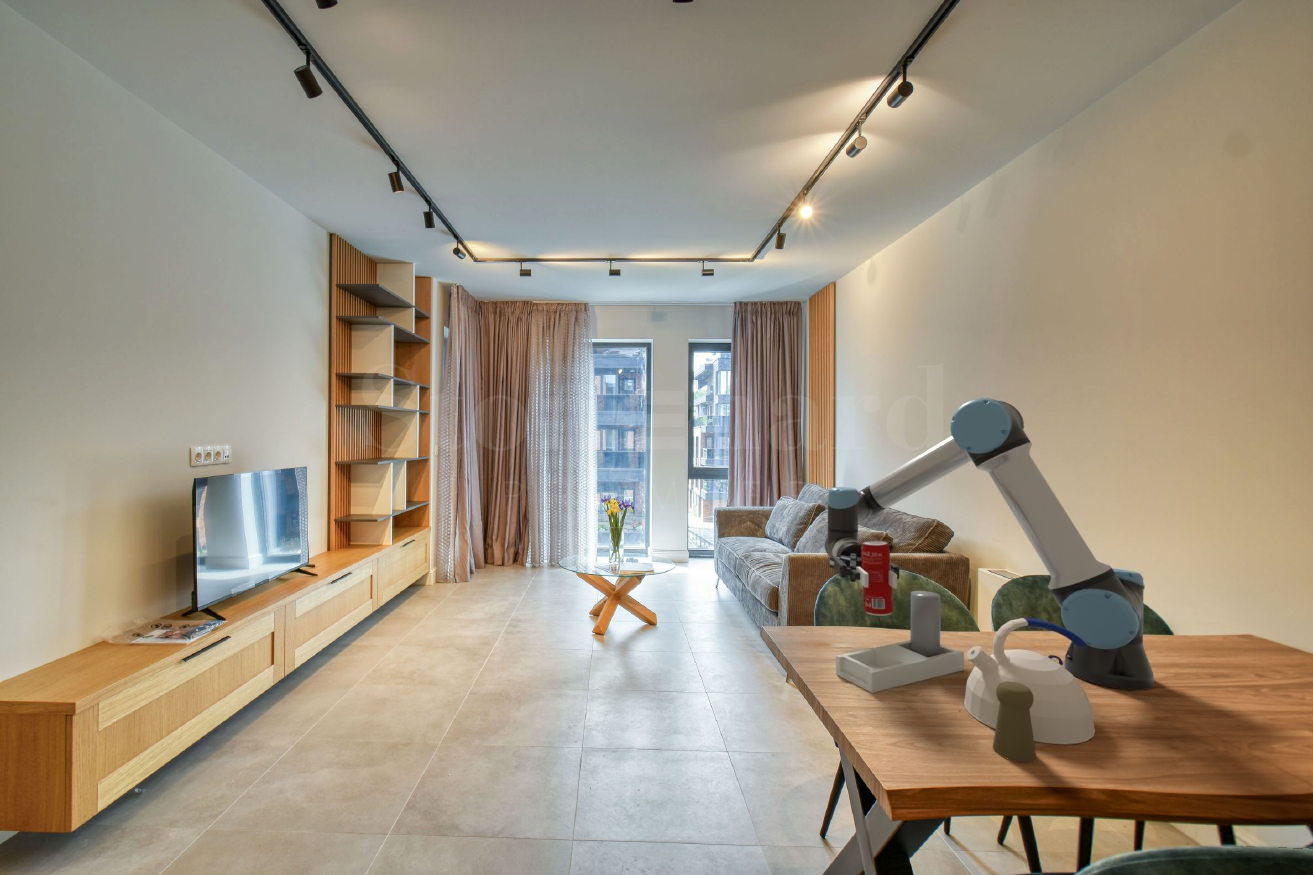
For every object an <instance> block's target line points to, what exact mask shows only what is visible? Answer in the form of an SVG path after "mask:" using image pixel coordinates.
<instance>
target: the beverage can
mask: <svg viewBox="0 0 1313 875" xmlns="http://www.w3.org/2000/svg"><path fill="white" fill-rule="evenodd" d="M861 544H862V547H861V559H862V569H863V570H864V571H865V572H867V573H868V587H864V586H863V585H862V591H863V592H862V593H863V594H862V595H863V596H862V597H863V611H864V612H865V613H866V614H868V615H871V616H875V617H876V616H878V617H882V616H883V617H885V616H890V615H892V614H893V612H894V605H893V602H894V600H893V588H892V587H891V586H890V585H889V584H888V571H890V570H891V562H892V561H891V549H890V546H889V544H888V541H883V540H865V541H863V542H862V543H861ZM890 561H891V562H890Z"/></svg>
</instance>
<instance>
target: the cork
mask: <svg viewBox="0 0 1313 875" xmlns="http://www.w3.org/2000/svg"><path fill="white" fill-rule="evenodd" d="M996 695H997V698H998V700H999V702H1000V705H999V711H998V717H997V723H996V729H994V731H995V732H994V738H993V743H992V750H993V751H994V752H995V753H996V754H997V753H998V754H997V755H999V756H1000V755H1001V756H1000V757H1002V756H1003V757H1002V758H1004V757H1006V758H1005V759H1007V758H1008V759H1007V760H1009V759H1010V761H1014V762H1019V763H1026V764H1027V763H1033V762H1035V761H1036V759H1037V754H1036V747H1035V741H1034V738H1033V731H1032V724H1031V717H1030V709H1029V708H1030V707H1032V704H1033V701H1034V697H1033V694H1032V692H1031V690H1030V689H1029V688H1028V687H1027V686H1025V685H1023V684H1020V683H1017V682H1011V681H1005V682H1001V683H999V685H998V686H997V689H996Z"/></svg>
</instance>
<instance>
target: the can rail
mask: <svg viewBox="0 0 1313 875" xmlns="http://www.w3.org/2000/svg"><path fill="white" fill-rule="evenodd" d="M941 599H942V598H941V594H939V593H936V592H934V591H926V590H914V591H911V592H910V640H906V641H905V640H904V641H900V642H896V643H891V644H887V645H886V644H885V645H881V646H875V647H872V648H866V649H862V650H857V651H852V652H851V651H850V652H848V653H842V654H837V655H835V658H836V659H835V663H836V664H835V674H836V675H837V676H839V677H841V678H842V679H845V680H847V681H848V682H850V683H852V684H854V685H856V686H858V687H860V688H862V689H863V690H865V691H867V692H868V693H871V694H873V693H876V692H881V691H885V690H889V689H893V688H897V687H901V686H904V685H909V684H913V683H917V682H922V681H925V680H929V679H933V678H937V677H942V676H946V675H949V674H953V673H957V672H961V671H964V669H965V667H964V666H965V665H964V663H965V661H964V660H965V659H964V658H965V654H964V653H965V652H964V651H963V650H956V649H952V648H950V647H947V646H945V645H942V644H941V603H942V602H941Z"/></svg>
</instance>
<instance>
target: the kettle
mask: <svg viewBox="0 0 1313 875" xmlns="http://www.w3.org/2000/svg"><path fill="white" fill-rule="evenodd" d="M1021 627H1035V628H1042V629H1045V630H1049V631H1052V632H1054V633H1057V634H1059V635H1061V636H1063V637H1064V638H1066V639H1068V640H1070V642H1071V641H1072V642H1073V643H1074V644H1075V645H1077V646H1086V643H1085V642H1084V641H1083V640H1082V639H1081V638H1080V637H1079V636H1077V635H1076V634H1074V633H1073V632H1071V631H1069V630H1067V629H1066V627H1063V626H1061V625H1057V624H1055V623H1053V622H1049V621H1045V620H1041V619H1038V618H1029V617H1027V618H1026V617H1022V618H1017V619H1011V620H1009V621H1008V622H1005V623H1004V624H1002V625H1001V626H1000V628H999V629H998V630H997V631H996V632H995V634H994V637H993V640H992V654H988V653H987V652H986V651H985V650H984V649H983V648H982V646H978V645H973V646H972V647H971V648H969V650H968V651H967V653H966V658H967V660H968V662H971V663H972V664H973V665H974V667H973V669H972V671H971V672H970V674H969V676H968V678H967V680H966V686H965V694H964V700H963V702H964V704H963V705H964V707H965V709H966V711H967V712H968V713H969V715H971V716H972V717H973V718H975V719H976V720H977V721H979V722H980V723H982V724H984V725H986V726H987V727H990V728H991V729H993V730H995V729H996V723H997V717H998V711H999V705H1000V702H999V700H998V698H997V695H996V689H997V686H998V685H999V683H1001V682H1005V681H1011V682H1017V683H1020V684H1023V685H1025V686H1027V687H1028V688H1029V689H1030V690H1031V692H1032V694H1033V697H1034V701H1033V704H1032V707H1030V708H1029V709H1030V717H1031V724H1032V731H1033V738H1034V742H1036V743H1041V744H1042V743H1043V744H1049V745H1061V746H1062V745H1077V744H1081V743H1085V742H1087V741H1089V740H1090V739H1092V738H1093V737H1094V736H1095V732H1096V729H1095V723H1094V722H1095V721H1094V714H1093V713H1094V712H1093V706H1092V703H1091V702H1090V699H1089V697H1088V695H1087V692H1086V691H1085V689H1084V687H1083V685H1081V683H1080V682H1079V681H1078V679H1077V678H1076V676H1074V675H1072V674H1071V673H1070V672H1069V671H1067V670H1066V669H1065V666H1063V665H1064V661H1063V660H1062V658H1060V656H1058V655H1054V654H1050V655H1048V656H1045V655H1043V654H1040V653H1038V652H1036V651H1032V650H1028V649H1005V643H1006V640H1007V637H1008V636H1010V634H1011V632H1013V631H1014V630H1016V629H1018V628H1021ZM1055 659H1057V660H1058V662H1057V661H1056V660H1055Z"/></svg>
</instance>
